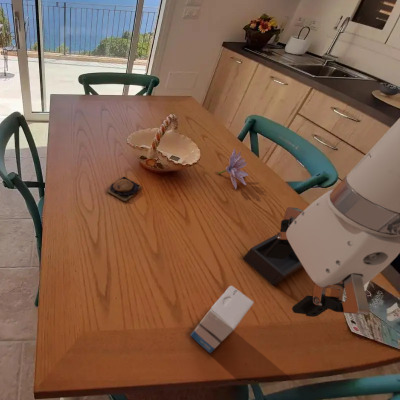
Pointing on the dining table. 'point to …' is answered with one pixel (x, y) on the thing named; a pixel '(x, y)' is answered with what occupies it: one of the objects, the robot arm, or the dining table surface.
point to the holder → (272, 262)
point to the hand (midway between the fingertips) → (287, 282)
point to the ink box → (221, 319)
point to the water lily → (236, 168)
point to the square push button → (124, 189)
